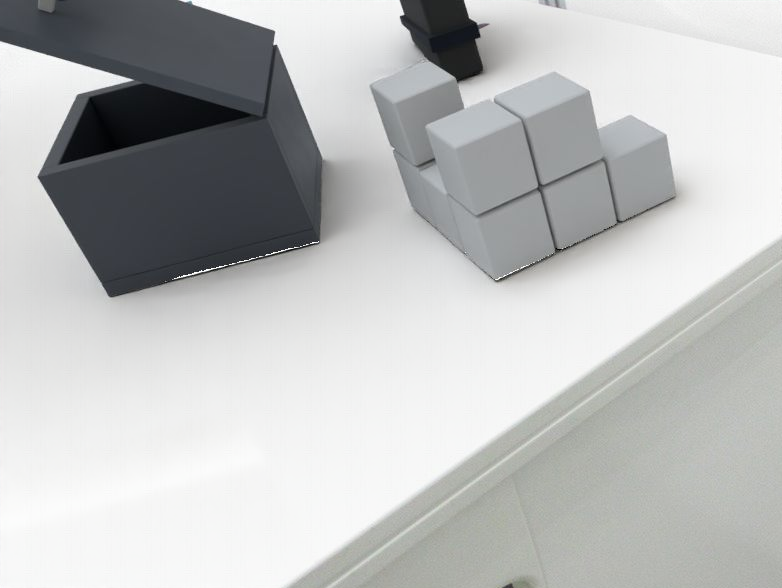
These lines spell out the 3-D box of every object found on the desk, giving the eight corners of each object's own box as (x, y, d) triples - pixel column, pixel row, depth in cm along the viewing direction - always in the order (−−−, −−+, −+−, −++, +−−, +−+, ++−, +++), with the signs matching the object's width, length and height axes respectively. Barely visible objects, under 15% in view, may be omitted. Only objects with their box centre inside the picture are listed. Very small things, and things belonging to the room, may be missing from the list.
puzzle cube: (677, 196, 62) (655, 61, 57) (495, 283, 59) (454, 147, 53) (576, 134, 70) (548, 11, 65) (411, 207, 67) (367, 83, 61)
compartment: (109, 297, 65) (36, 177, 60) (137, 206, 74) (76, 94, 69) (319, 243, 66) (266, 118, 60) (323, 158, 74) (277, 43, 69)
